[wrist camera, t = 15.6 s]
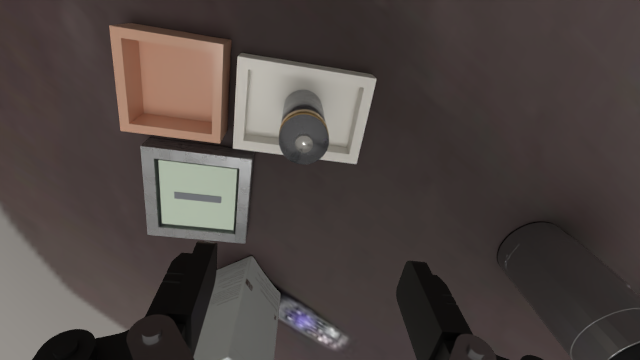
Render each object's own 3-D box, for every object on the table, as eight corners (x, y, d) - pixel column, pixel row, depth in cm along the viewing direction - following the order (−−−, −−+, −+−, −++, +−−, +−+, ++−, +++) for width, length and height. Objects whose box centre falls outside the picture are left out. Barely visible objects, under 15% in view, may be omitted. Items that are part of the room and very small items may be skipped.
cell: (326, 92, 34) (334, 123, 26) (319, 130, 36) (325, 171, 27) (285, 86, 33) (280, 115, 25) (280, 125, 35) (275, 164, 27)
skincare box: (281, 292, 47) (276, 403, 34) (244, 307, 48) (225, 421, 35) (250, 251, 44) (230, 358, 31) (210, 269, 45) (175, 380, 31)
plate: (239, 163, 37) (236, 169, 36) (235, 222, 41) (233, 230, 39) (163, 154, 36) (157, 160, 35) (166, 216, 40) (161, 223, 38)
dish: (231, 39, 32) (223, 44, 28) (227, 129, 36) (220, 143, 32) (130, 22, 31) (109, 25, 27) (138, 117, 35) (120, 130, 31)
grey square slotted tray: (254, 150, 37) (251, 159, 35) (247, 230, 42) (245, 243, 40) (150, 137, 36) (140, 146, 33) (155, 222, 41) (147, 234, 38)
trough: (371, 74, 34) (376, 78, 32) (352, 154, 38) (356, 164, 36) (241, 52, 32) (237, 56, 30) (236, 139, 36) (232, 148, 34)
